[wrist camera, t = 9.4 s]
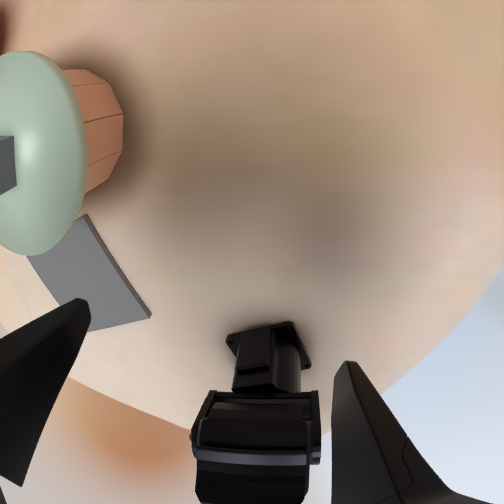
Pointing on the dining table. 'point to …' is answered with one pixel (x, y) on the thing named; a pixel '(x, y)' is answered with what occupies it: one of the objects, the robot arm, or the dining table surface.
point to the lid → (39, 153)
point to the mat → (89, 277)
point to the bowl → (98, 124)
